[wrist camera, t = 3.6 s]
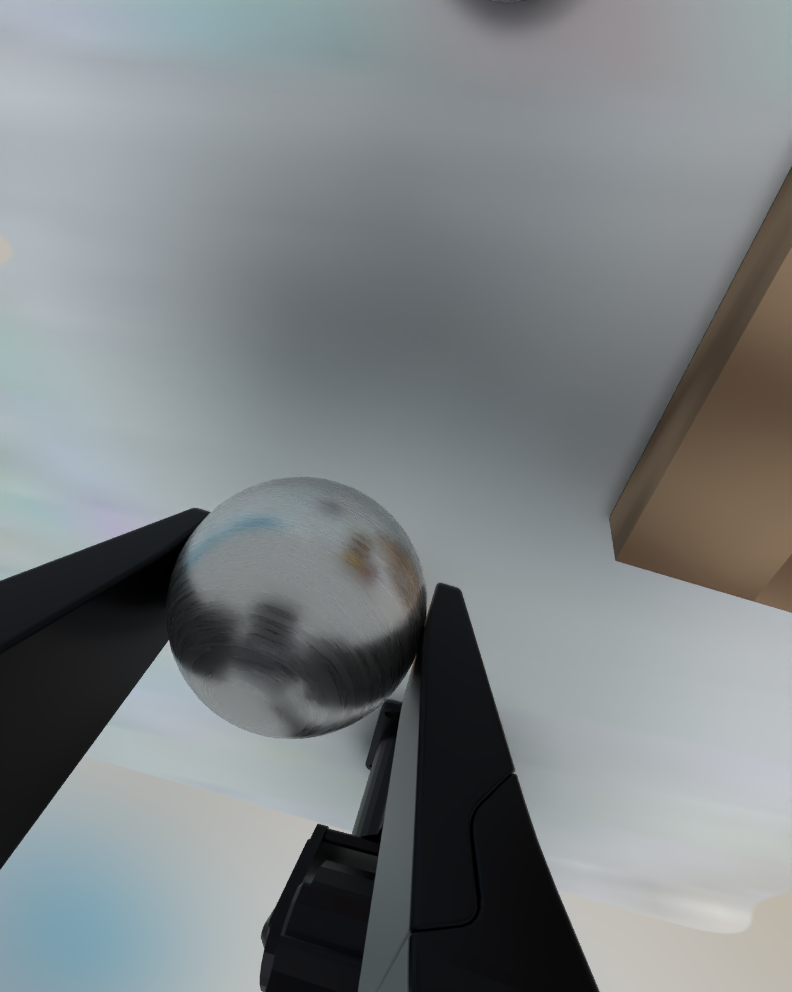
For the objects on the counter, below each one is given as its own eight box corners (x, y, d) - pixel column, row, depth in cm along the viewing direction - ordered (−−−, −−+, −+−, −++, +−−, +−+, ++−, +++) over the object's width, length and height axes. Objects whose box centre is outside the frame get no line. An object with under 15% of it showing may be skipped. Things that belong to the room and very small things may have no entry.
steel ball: (421, 630, 11) (366, 829, 8) (244, 574, 11) (121, 741, 8) (470, 471, 9) (421, 659, 6) (246, 408, 9) (78, 548, 6)
